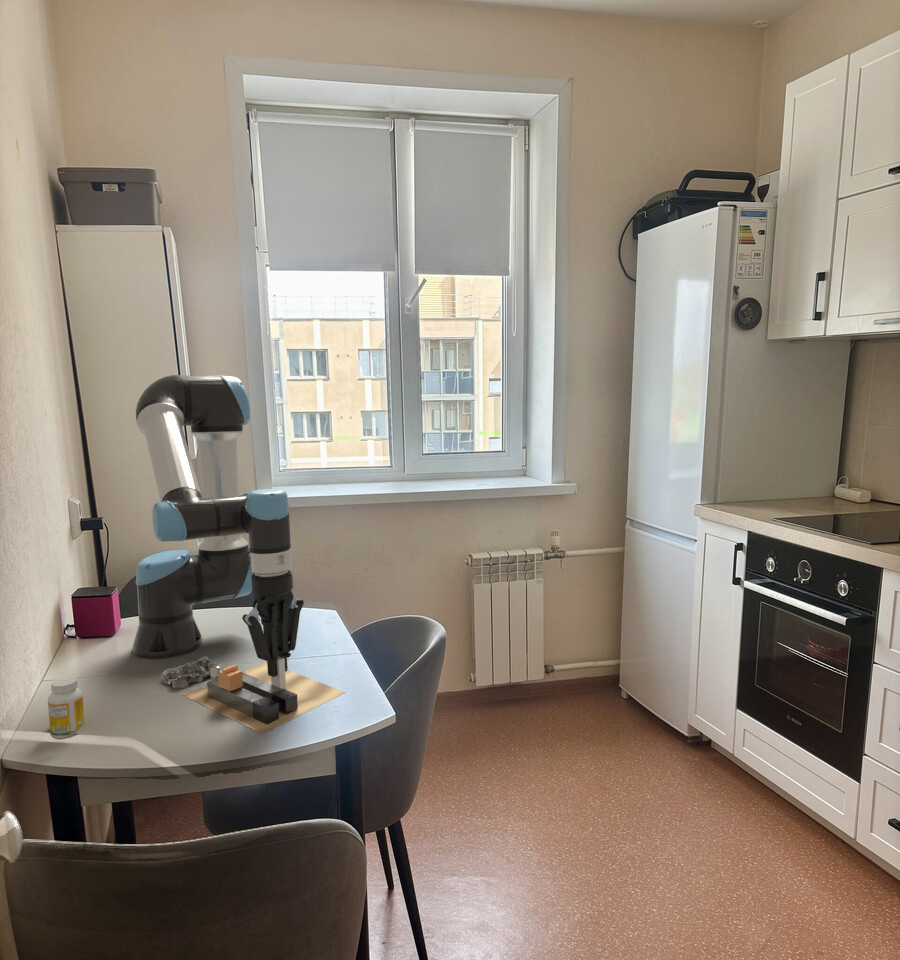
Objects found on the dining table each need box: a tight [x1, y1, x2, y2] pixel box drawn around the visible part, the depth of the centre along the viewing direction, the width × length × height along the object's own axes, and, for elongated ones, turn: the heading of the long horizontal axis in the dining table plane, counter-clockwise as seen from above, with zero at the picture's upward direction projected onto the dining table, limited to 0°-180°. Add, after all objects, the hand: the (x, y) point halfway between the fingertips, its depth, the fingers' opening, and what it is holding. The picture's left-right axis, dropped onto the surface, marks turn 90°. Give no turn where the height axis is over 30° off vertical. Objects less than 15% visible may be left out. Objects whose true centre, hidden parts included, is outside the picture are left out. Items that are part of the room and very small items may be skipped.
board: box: [182, 661, 346, 735], centre depth 128 cm, size 25×20×1 cm
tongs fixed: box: [206, 663, 279, 725], centre depth 123 cm, size 22×5×4 cm, turn 53°
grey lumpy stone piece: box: [160, 655, 218, 689], centre depth 136 cm, size 11×8×4 cm
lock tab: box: [218, 664, 243, 691], centre depth 123 cm, size 4×3×4 cm
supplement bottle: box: [47, 676, 85, 740], centre depth 115 cm, size 5×5×10 cm
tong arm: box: [241, 671, 298, 714], centre depth 125 cm, size 18×3×3 cm, turn 53°
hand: (278, 689), depth 125 cm, fingers closed
